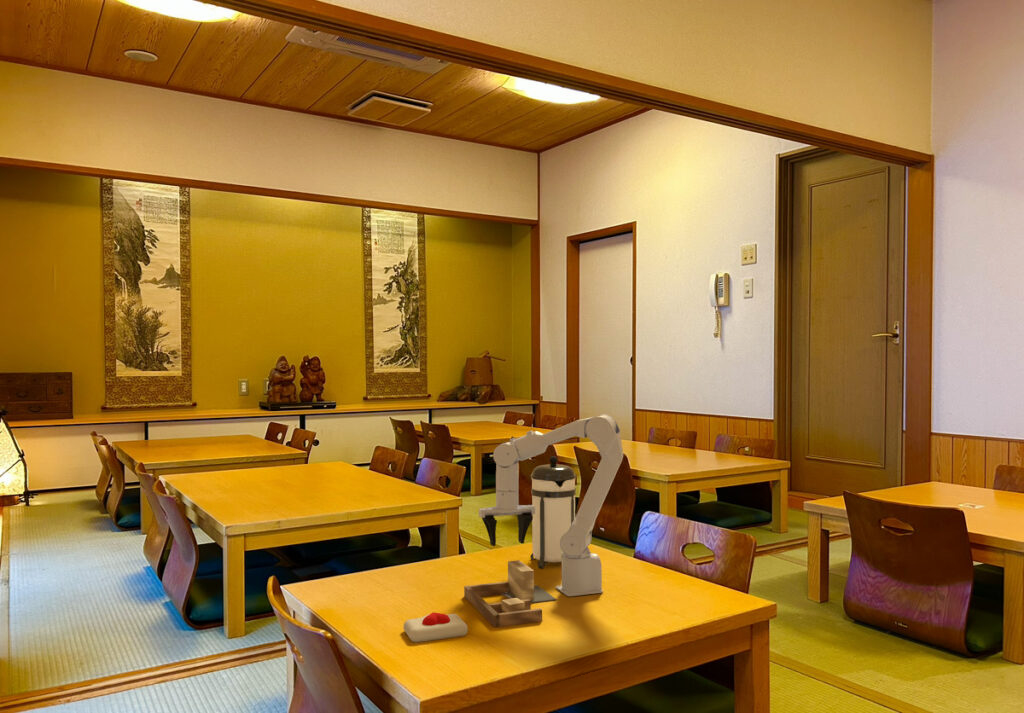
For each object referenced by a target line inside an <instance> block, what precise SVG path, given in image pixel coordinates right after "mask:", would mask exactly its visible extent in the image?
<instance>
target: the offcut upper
mask: <svg viewBox="0 0 1024 713" xmlns="http://www.w3.org/2000/svg"><path fill="white" fill-rule="evenodd" d="M501 602H502V610H504V611H505V612H515V611H523V610H525V602H523V601H522V600H520V599H518V598H512V597H511V598H507V599H501Z"/></svg>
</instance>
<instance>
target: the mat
mask: <svg viewBox="0 0 1024 713" xmlns="http://www.w3.org/2000/svg"><path fill="white" fill-rule="evenodd" d="M506 594H508V595H509V596H510V597H511V599H512V598H517V597H516V596H515V595H514V594H512V593H511V592H510V591H509V592H507V593H506ZM554 601H557V598H555V597H554V596H553V595H552V594H550V593H549V592H548V591H546V590H544V589H543V588H542V587H541V586H539V585H537V584H535V585H534V600H531V604H537V603H544V602H554Z"/></svg>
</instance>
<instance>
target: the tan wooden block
mask: <svg viewBox="0 0 1024 713" xmlns="http://www.w3.org/2000/svg"><path fill="white" fill-rule="evenodd" d="M507 582H508V583H509V591H510V592H511V593H512V594H514V595H515V596H516V597H517V598H518V599H520V600H526V599H529V600H534V586H535V570H534V569H532V568H531V567H530V566H528V565H527V564H526V563H524V562H522V561H521V560H519V559H517V560H509V561H507Z"/></svg>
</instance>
